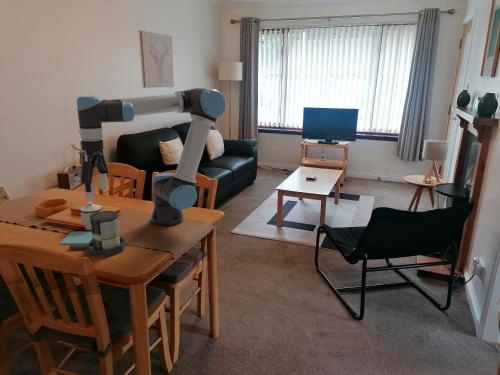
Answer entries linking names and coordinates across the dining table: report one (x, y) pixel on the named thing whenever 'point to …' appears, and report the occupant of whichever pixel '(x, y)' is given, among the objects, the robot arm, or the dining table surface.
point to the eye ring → (99, 251)
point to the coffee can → (105, 229)
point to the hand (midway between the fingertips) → (97, 194)
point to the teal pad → (78, 238)
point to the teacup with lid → (89, 213)
